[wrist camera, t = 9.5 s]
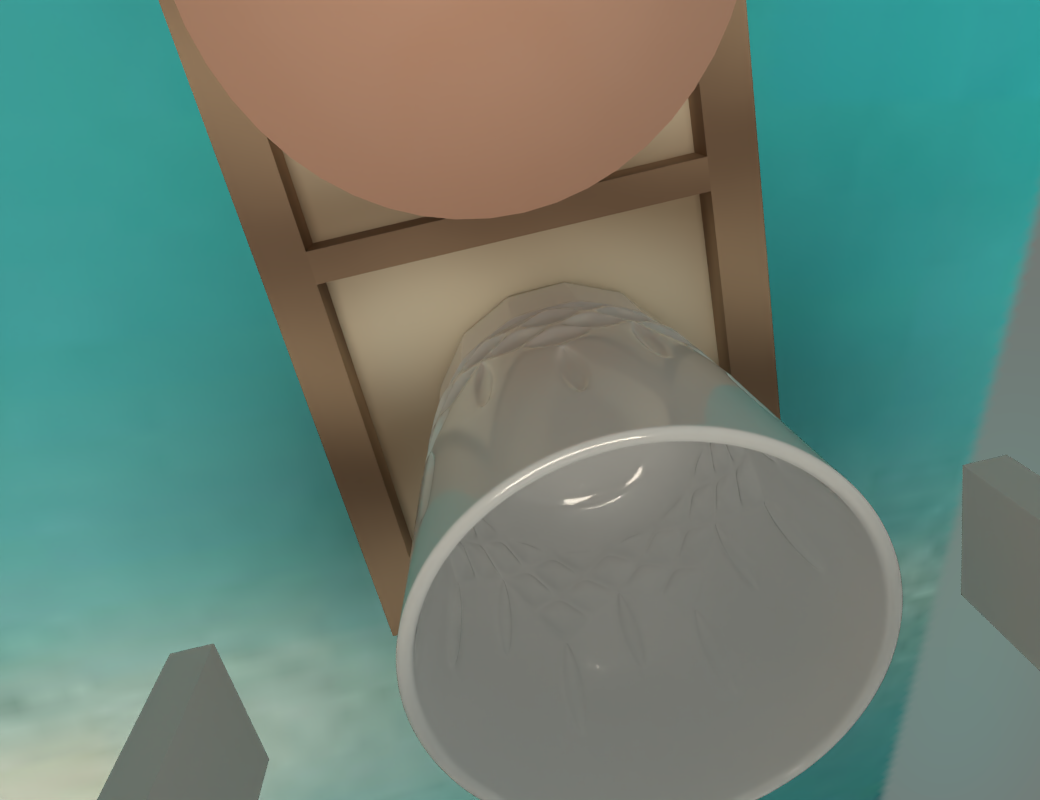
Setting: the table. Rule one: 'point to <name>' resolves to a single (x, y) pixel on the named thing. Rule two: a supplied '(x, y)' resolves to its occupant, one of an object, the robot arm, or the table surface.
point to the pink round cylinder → (459, 90)
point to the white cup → (630, 570)
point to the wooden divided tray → (489, 277)
